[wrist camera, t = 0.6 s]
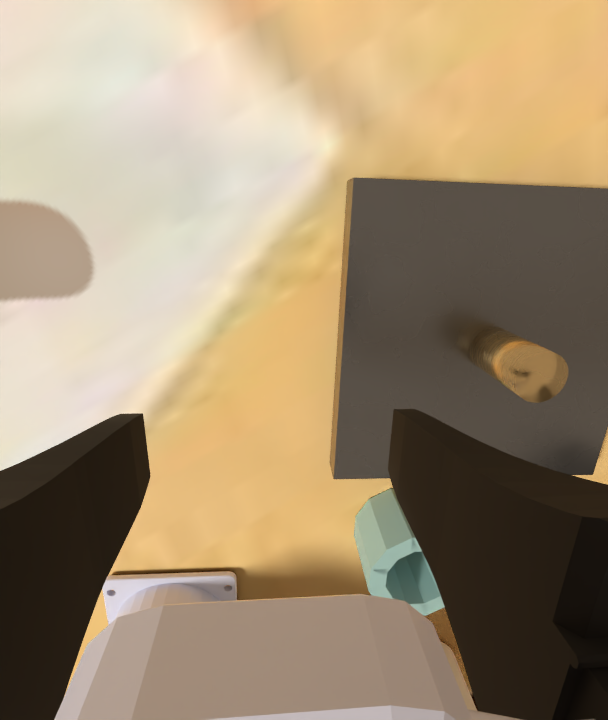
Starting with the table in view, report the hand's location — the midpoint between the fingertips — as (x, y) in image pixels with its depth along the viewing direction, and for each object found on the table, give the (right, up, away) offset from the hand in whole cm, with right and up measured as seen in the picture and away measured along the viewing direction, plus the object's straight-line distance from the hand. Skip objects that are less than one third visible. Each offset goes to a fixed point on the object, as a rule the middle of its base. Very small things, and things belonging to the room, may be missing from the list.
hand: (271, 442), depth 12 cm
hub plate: (+10, +3, +10) cm, 15 cm away
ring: (+7, -8, +13) cm, 17 cm away
